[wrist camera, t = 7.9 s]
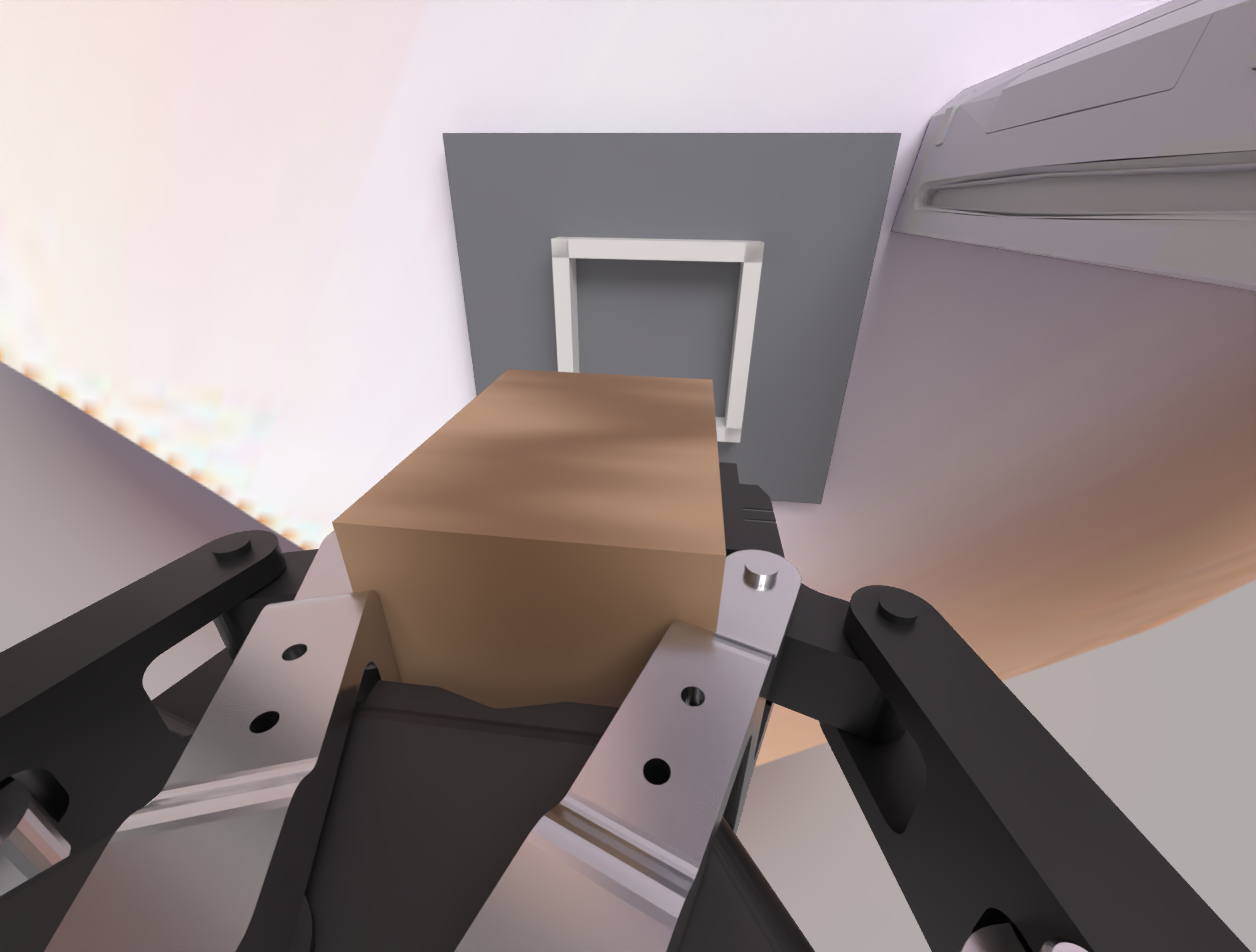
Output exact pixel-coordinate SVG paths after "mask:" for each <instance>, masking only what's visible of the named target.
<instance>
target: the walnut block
mask: <svg viewBox="0 0 1256 952" xmlns="http://www.w3.org/2000/svg"><path fill="white" fill-rule="evenodd" d="M332 523H333V526H334V530H335V533H336V537H337V540H338V543H339V547H340V550H341V553H342V557H343V560H344V564H345V567H346V570H347V574H348V577H349V580H350V584H351V587H352V590H353V592H360V591H368V590H375V591H377V593H378V594H379V596H380V599H381V602H382V606H383V610H384V613H385V617H386V621H387V625H388V628H389V632H390V638H391V645H392V649H393V652H394V656H395V660H396V664H397V667H398V671H399V675H400V678H401V682H402V683H409V684H418V685H427V686H436V687H440V688H443V689H445V690H448V691H450V692H453V693H456V694H458V695H461V696H463V697H466V698H468V699H471V700H473V701H476V702H478V703H481V704H484V705H486V706H489V707H492V708H497V709H504V708H513V707H522V706H531V705H540V704H549V703H559V702H575V703H584V704H593V705H601V706H610V707H619V708H620V707H621V705H622V704H623V702H624V700H625V699H626V697H627V696H628V694H629V692H630V691H631V689H632V687H633V686H634V684H635V683H636V681H637V679H638V678H639V676H640V674H641V673H642V671H643V670H644V668H645V666H646V665H647V663H648V661H649V660H650V658H651V656H652V655H653V653H654V652H655V650H656V648H657V647H658V645H659V643H660V642H661V640H662V639H663V637H664V635H665V634H666V632H667V630H668V629H669V627H670V626H671V624H672V623H673V622H674V621H675V620H677V619H679V620H682V621H685V622H688V623H690V624H693V625H696V626H699V627H701V628H704V629H707V630H710V631H713V632H715V633H716V631H717V623H718V615H719V607H720V600H721V592H722V584H723V576H724V569H725V561H726V547H725V534H724V521H723V508H722V496H721V483H720V470H719V457H718V444H717V432H716V419H715V406H714V393H713V380H710V379H690V378H671V377H652V376H632V375H613V374H593V373H574V372H555V371H535V370H516V369H508V370H507V371H506V372H504V373H503V374H502V375H501V376H500V377H499V378H497V379H496V380H495V381H494V382H493V383H492V384H491V385H489V386H488V387H487V388H486V389H485V390H484V391H483V392H481V393H480V394H479V395H478V396H477V397H476V398H474V399H473V400H472V401H471V402H470V403H469V404H468V405H466V406H465V407H464V408H463V409H462V410H461V411H460V412H458V413H457V414H456V415H455V416H454V417H453V418H452V419H450V420H449V421H448V422H447V423H446V424H445V425H443V426H442V427H441V428H440V429H439V430H438V431H437V432H435V433H434V434H433V435H432V436H431V437H430V438H429V439H427V440H426V441H425V442H424V443H423V444H422V445H420V446H419V447H418V448H417V449H416V450H415V451H414V452H412V453H411V454H410V455H409V456H408V457H407V458H406V459H404V460H403V461H402V462H401V463H400V464H399V465H397V466H396V467H395V468H394V469H393V470H392V471H391V472H389V473H388V474H387V475H386V476H385V477H384V478H383V479H381V480H380V481H379V482H378V483H377V484H376V485H375V486H373V487H372V488H371V489H370V490H369V491H368V492H366V493H365V494H364V495H363V496H362V497H361V498H360V499H358V500H357V501H356V502H355V503H354V504H353V505H352V506H350V507H349V508H348V509H347V510H346V511H345V512H343V513H342V514H341V515H340V516H339V517H338V518H337V519H335V520H334V521H333V522H332Z"/></svg>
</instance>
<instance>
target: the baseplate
mask: <svg viewBox="0 0 1256 952" xmlns="http://www.w3.org/2000/svg"><path fill="white" fill-rule="evenodd" d="M900 137H901V133H443V140H444V148H445V155H446V163H447V171H448V178H449V186H450V194H451V201H452V209H453V217H454V224H455V232H456V240H457V247H458V255H459V263H460V270H461V278H462V286H463V293H464V301H465V309H466V316H467V324H468V332H469V339H470V347H471V355H472V362H473V370H474V378H475V385H476V393H477V396H478V395H479V394H480V393H481V392H483V391H484V390H485V389H486V388H487V387H488V386H489V385H491V384H492V383H493V382H494V381H495V380H496V379H497V378H499V377H500V376H501V375H502V374H503V373H504V372H506V371H507V370H508V369H516V370H535V371H555V372H574V373H593V374H613V375H632V376H652V377H671V378H690V379H710V380H713V393H714V406H715V419H716V432H717V444H718V457H719V462H727V463H736V464H737V470H738V477H739V484H750V485H758V486H759V487H760V488H761V489H762V490H763V491H764V492H765V493H766V494H767V495H769V496H770V499H771V500H773V501H787V502H801V503H816V504H821V502H822V498H823V493H824V488H825V484H826V479H827V474H828V470H829V465H830V461H831V456H832V451H833V447H834V442H835V437H836V433H837V428H838V424H839V419H840V414H841V410H842V405H843V400H844V396H845V391H846V387H847V382H848V377H849V373H850V368H851V363H852V359H853V354H854V350H855V345H856V340H857V336H858V331H859V326H860V322H861V317H862V313H863V308H864V303H865V299H866V294H867V289H868V285H869V280H870V276H871V271H872V266H873V262H874V257H875V252H876V248H877V243H878V239H879V234H880V229H881V225H882V220H883V215H884V211H885V206H886V202H887V197H888V192H889V188H890V183H891V178H892V174H893V169H894V164H895V160H896V155H897V151H898V146H899V141H900Z"/></svg>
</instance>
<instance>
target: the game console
mask: <svg viewBox="0 0 1256 952" xmlns="http://www.w3.org/2000/svg"><path fill="white" fill-rule="evenodd" d="M948 212H951V213H948ZM954 213H962V214H954ZM963 214H966V215H963ZM891 231H893V232H900V233H906V234H913V235H919V236H926V237H932V238H938V239H944V240H950V241H956V242H962V243H968V244H974V245H980V246H986V247H992V248H998V249H1004V250H1011V251H1017V252H1023V253H1029V254H1035V255H1041V256H1047V257H1053V258H1059V259H1065V260H1071V261H1077V262H1083V263H1089V264H1095V265H1101V266H1107V267H1113V268H1119V269H1125V270H1131V271H1137V272H1143V273H1149V274H1155V275H1161V276H1167V277H1173V278H1179V279H1185V280H1191V281H1197V282H1203V283H1209V284H1215V285H1221V286H1227V287H1233V288H1239V289H1245V290H1251V291H1256V0H1172V1H1170V2H1168V3H1165V4H1163V5H1161V6H1158V7H1156V8H1154V9H1151V10H1149V11H1147V12H1144V13H1142V14H1140V15H1137V16H1135V17H1133V18H1130V19H1128V20H1126V21H1123V22H1121V23H1119V24H1116V25H1114V26H1112V27H1109V28H1107V29H1105V30H1102V31H1100V32H1098V33H1095V34H1093V35H1091V36H1088V37H1086V38H1084V39H1081V40H1079V41H1077V42H1074V43H1072V44H1070V45H1067V46H1065V47H1063V48H1060V49H1058V50H1056V51H1053V52H1051V53H1048V54H1046V55H1044V56H1041V57H1039V58H1037V59H1034V60H1032V61H1030V62H1027V63H1025V64H1023V65H1020V66H1018V67H1016V68H1013V69H1011V70H1009V71H1006V72H1004V73H1002V74H999V75H997V76H995V77H992V78H990V79H988V80H985V81H983V82H981V83H978V84H976V85H974V86H971V87H969V88H967V89H964V90H963V91H962V92H961V93H960V94H958V95H957V96H956V97H955V98H953V99H952V100H951V101H950V102H949V103H947V104H946V105H945V106H944V107H943V108H941V109H940V110H939V111H938V112H937V113H935V114H934V115H933V116H932V117H931V119H930V122H929V125H928V128H927V131H926V134H925V136H924V139H923V142H922V145H921V148H920V151H919V153H918V156H917V159H916V162H915V165H914V168H913V170H912V173H911V176H910V179H909V182H908V185H907V187H906V190H905V193H904V196H903V199H902V202H901V204H900V207H899V210H898V213H897V216H896V219H895V221H894V224H893V227H892V230H891Z"/></svg>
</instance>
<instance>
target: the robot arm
mask: <svg viewBox="0 0 1256 952" xmlns="http://www.w3.org/2000/svg"><path fill="white" fill-rule="evenodd" d="M719 470H720V483H721V496H722V508H723V521H724V534H725V547H726V561H725V569H724V576H723V584H722V592H721V600H720V607H719V615H718V623H717V631H716V633H715V632H713V631H710V630H707V629H704V628H701V627H699V626H696V625H693V624H690V623H688V622H685V621H682V620H679V619H677V620H675V621H674V622H673V623H672V624H671V626H670V627H669V629H668V630H667V632H666V634H665V635H664V637H663V639H662V640H661V642H660V643H659V645H658V647H657V648H656V650H655V652H654V653H653V655H652V656H651V658H650V660H649V661H648V663H647V665H646V666H645V668H644V670H643V671H642V673H641V674H640V676H639V678H638V679H637V681H636V683H635V684H634V686H633V687H632V689H631V691H630V692H629V694H628V696H627V697H626V699H625V700H624V702H623V704H622V705H621V707H620V708H619V707H610V706H601V705H593V704H584V703H575V702H559V703H549V704H540V705H531V706H522V707H513V708H504V709H497V708H492V707H489V706H486V705H484V704H481V703H478V702H476V701H473V700H471V699H468V698H466V697H463V696H461V695H458V694H456V693H453V692H450V691H448V690H445V689H443V688H440V687H436V686H427V685H418V684H409V683H402V682H401V678H400V675H399V671H398V667H397V664H396V660H395V656H394V652H393V649H392V645H391V638H390V632H389V628H388V625H387V621H386V617H385V613H384V610H383V606H382V602H381V599H380V596H379V594H378V593H377V591H375V590H368V591H360V592H353V590H352V587H351V584H350V580H349V577H348V574H347V570H346V567H345V564H344V560H343V557H342V553H341V550H340V547H339V543H338V540H337V537H336V533H335V531H333V532H332V533H330V534H329V535H328V536H327V537H326V538H325V539H324V540H323V542H322V544H321V546H320V548H319V549H315V550H306V551H297V552H288V553H282V550H281V547H280V544H279V541H278V539H277V537H276V536H275V535H274V534H273V533H271V532H267V531H260V530H254V531H244V532H238V533H234V534H230V535H227V536H224V537H221V538H218V539H216V540H214V541H212V542H209V543H207V544H205V545H203V546H202V547H200V548H198V549H196V550H194V551H192V552H190V553H188V554H186V555H185V556H183V557H181V558H179V559H177V560H175V561H173V562H171V563H169V564H168V565H166V566H164V567H162V568H160V569H158V570H156V571H154V572H152V573H150V574H149V575H147V576H145V577H143V578H141V579H139V580H137V581H135V582H133V583H132V584H130V585H128V586H126V587H124V588H122V589H120V590H118V591H116V592H115V593H113V594H111V595H109V596H107V597H105V598H103V599H101V600H99V601H98V602H96V603H94V604H92V605H90V606H88V607H86V608H85V609H83V610H80V611H79V612H77V613H75V614H73V615H71V616H69V617H67V618H65V619H63V620H62V621H60V622H58V623H56V624H54V625H52V626H50V627H48V628H46V629H45V630H43V631H41V632H39V633H37V634H35V635H33V636H31V637H29V638H27V639H26V640H24V641H22V642H20V643H18V644H16V645H14V646H12V647H10V648H9V649H7V650H5V651H3V652H1V653H0V952H815V951H814V950H813V948H812V947H811V945H810V944H809V942H808V941H807V939H806V938H805V936H804V935H803V933H802V932H801V930H800V929H799V927H798V926H797V924H796V923H795V921H794V920H793V918H792V917H791V916H790V914H789V913H788V911H787V910H786V908H785V907H784V905H783V904H782V902H781V901H780V899H779V898H778V896H777V895H776V893H775V892H774V891H773V889H772V888H771V886H770V885H769V883H768V882H767V880H766V879H765V877H764V876H763V875H762V873H761V871H760V870H759V868H758V867H757V866H756V864H755V863H754V861H753V860H752V858H751V857H750V855H749V854H748V852H747V851H746V849H745V848H744V846H743V845H742V844H741V842H740V841H739V839H738V838H737V836H736V832H737V829H738V825H739V822H740V818H741V815H742V811H743V807H744V803H745V799H746V795H747V791H748V787H749V784H750V780H751V777H752V773H753V770H754V767H755V764H756V760H757V757H758V754H759V751H760V747H761V744H762V741H763V738H764V735H765V731H766V728H767V725H768V722H769V718H770V715H771V712H772V709H773V705H774V703H776V704H778V705H781V706H783V707H786V708H788V709H791V710H793V711H796V712H799V713H801V714H804V715H806V716H809V717H811V718H814V719H816V720H819V722H820V726H821V728H822V731H823V733H824V735H825V737H826V739H827V741H828V743H829V745H830V747H831V749H832V751H833V753H834V755H835V757H836V759H837V761H838V763H839V765H840V767H841V769H842V771H843V773H844V775H845V777H846V779H847V781H848V783H849V785H850V787H851V789H852V791H853V793H854V795H855V797H856V799H857V801H858V803H859V805H860V807H861V809H862V811H863V813H864V815H865V818H866V820H867V821H868V824H869V826H870V828H871V830H872V832H873V834H874V836H875V838H876V840H877V842H878V844H879V846H880V848H881V850H882V852H883V854H884V856H885V858H886V860H887V862H888V864H889V866H890V868H891V870H892V872H893V874H894V876H895V878H896V880H897V882H898V884H899V886H900V888H901V890H902V892H903V894H904V896H905V898H906V900H907V902H908V904H909V906H910V908H911V910H912V912H913V914H914V916H915V918H916V920H917V922H918V924H919V926H920V928H921V930H922V932H923V934H924V936H925V939H926V940H927V943H928V944H929V947H930V949H931V951H932V952H1251V951H1250V950H1249V949H1248V948H1247V947H1246V946H1245V945H1244V944H1243V943H1242V942H1241V941H1240V939H1239V938H1238V937H1236V935H1235V934H1234V933H1233V932H1232V931H1231V930H1230V929H1229V928H1228V926H1227V925H1226V924H1225V923H1224V922H1223V921H1222V920H1221V919H1220V918H1219V917H1218V916H1217V915H1216V913H1215V912H1214V911H1213V910H1212V909H1211V908H1210V907H1209V906H1208V905H1207V904H1206V903H1205V901H1204V900H1203V899H1202V898H1201V897H1200V896H1199V895H1198V894H1197V893H1196V892H1195V891H1194V889H1193V888H1192V887H1191V886H1190V885H1189V884H1188V883H1187V882H1186V881H1185V880H1184V879H1183V878H1182V877H1181V875H1180V874H1179V873H1178V872H1177V871H1176V870H1175V869H1174V868H1173V867H1172V866H1171V865H1170V863H1169V862H1167V860H1166V859H1165V858H1164V857H1163V856H1162V855H1161V854H1160V853H1159V851H1158V850H1157V849H1156V848H1155V847H1154V846H1153V845H1152V844H1151V843H1150V842H1149V841H1148V840H1147V838H1146V837H1145V836H1144V835H1143V834H1142V833H1141V832H1140V831H1139V830H1138V829H1137V828H1136V827H1135V826H1134V824H1133V823H1132V822H1131V821H1130V820H1129V819H1128V818H1127V817H1126V816H1125V815H1124V814H1123V812H1122V811H1121V810H1120V809H1119V808H1118V807H1117V806H1116V805H1115V804H1114V803H1113V802H1112V801H1111V799H1110V798H1109V797H1108V796H1107V795H1106V794H1105V793H1104V792H1103V791H1102V790H1101V788H1099V786H1098V785H1097V784H1096V783H1095V782H1094V781H1093V780H1092V779H1091V778H1090V777H1089V776H1088V775H1087V773H1086V772H1085V771H1084V770H1083V769H1082V768H1081V767H1080V766H1079V765H1078V764H1077V762H1075V760H1074V759H1073V758H1072V757H1071V756H1070V755H1069V754H1068V753H1067V752H1066V750H1065V749H1064V748H1063V747H1062V746H1061V745H1060V744H1059V743H1058V742H1057V741H1056V740H1055V739H1054V737H1052V735H1051V734H1050V733H1049V732H1048V731H1047V730H1046V729H1045V728H1044V727H1043V726H1042V724H1041V723H1040V722H1039V721H1038V720H1037V719H1036V718H1035V717H1034V716H1033V715H1032V714H1031V713H1030V711H1029V710H1028V709H1027V708H1026V707H1025V706H1024V705H1023V704H1022V703H1021V702H1020V701H1019V700H1018V698H1017V697H1016V696H1015V695H1014V694H1013V693H1012V692H1011V691H1010V690H1009V689H1008V687H1007V686H1005V684H1004V683H1003V682H1002V681H1001V680H1000V679H999V678H998V677H997V676H996V674H995V673H994V672H993V671H992V670H991V669H990V668H989V667H988V666H987V665H986V664H985V663H984V661H983V660H982V659H981V658H980V657H979V656H978V655H977V654H976V653H975V652H974V651H973V649H972V648H971V647H970V646H969V645H968V644H967V643H966V642H965V641H964V640H963V639H962V638H961V636H960V635H959V634H958V633H957V632H956V631H955V630H954V629H953V628H952V627H951V626H950V625H949V623H948V622H947V621H946V620H945V619H944V618H943V617H942V616H941V615H940V614H939V613H938V611H937V610H936V609H935V608H933V607H932V606H931V605H930V604H929V603H927V602H926V601H925V600H923V599H921V598H920V597H918V596H916V595H914V594H912V593H910V592H907V591H905V590H902V589H899V588H895V587H890V586H882V585H872V586H866V587H863V588H860V589H859V590H857V591H856V592H855V593H854V594H853V595H852V597H851V600H850V602H848V601H845V600H841V599H838V598H835V597H831V596H828V595H825V594H822V593H819V592H817V591H815V590H813V589H811V588H809V587H807V586H805V585H804V584H802V583H801V576H800V574H799V571H798V570H797V569H796V567H795V566H794V565H793V564H792V563H790V562H789V561H788V560H786V559H785V557H784V553H783V549H782V545H781V541H780V537H779V532H778V528H777V524H776V523H775V522H776V520H775V516H774V512H773V508H772V503H771V499H770V496H769V495H767V494H766V493H765V492H764V491H763V490H762V489H761V488H760V487H759V486H758V485H750V484H739V477H738V470H737V464H736V463H727V462H719ZM212 620H213V621H214V623H215V625H216V627H217V629H218V631H219V633H220V636H221V638H222V640H223V642H224V644H225V646H226V648H225V649H224V650H222V651H221V652H219V653H218V654H216V655H215V656H214V657H212V658H211V659H209V660H208V661H207V662H205V663H204V664H203V665H201V666H200V667H198V668H197V669H195V670H194V671H193V672H191V673H190V674H188V675H187V676H186V677H184V678H183V679H181V680H180V681H179V682H177V683H176V684H174V685H173V686H172V687H170V688H169V689H167V690H166V691H165V692H163V693H162V694H160V695H159V696H157V697H156V698H155V699H153V700H152V701H151V700H150V698H149V697H148V695H147V693H146V691H145V690H144V688H143V685H142V679H143V675H144V672H145V670H146V668H147V667H148V666H149V664H150V663H151V662H152V661H153V660H154V659H155V658H156V657H158V656H159V655H160V654H162V653H163V652H164V651H166V650H168V649H169V648H171V647H172V646H174V645H176V644H177V643H179V642H180V641H182V640H183V639H185V638H186V637H188V636H189V635H191V634H192V633H194V632H195V631H197V630H198V629H200V628H201V627H203V626H205V625H206V624H208V623H209V622H211V621H212ZM160 792H161V793H160ZM159 793H160V794H159ZM158 794H159V795H158ZM157 795H158V797H157V798H156V799H155V800H154V801H153V802H151V803H150V804H148V805H147V806H145V805H146V804H147V803H149V802H150V801H151V800H152V799H153V798H154V797H156V796H157Z"/></svg>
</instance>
